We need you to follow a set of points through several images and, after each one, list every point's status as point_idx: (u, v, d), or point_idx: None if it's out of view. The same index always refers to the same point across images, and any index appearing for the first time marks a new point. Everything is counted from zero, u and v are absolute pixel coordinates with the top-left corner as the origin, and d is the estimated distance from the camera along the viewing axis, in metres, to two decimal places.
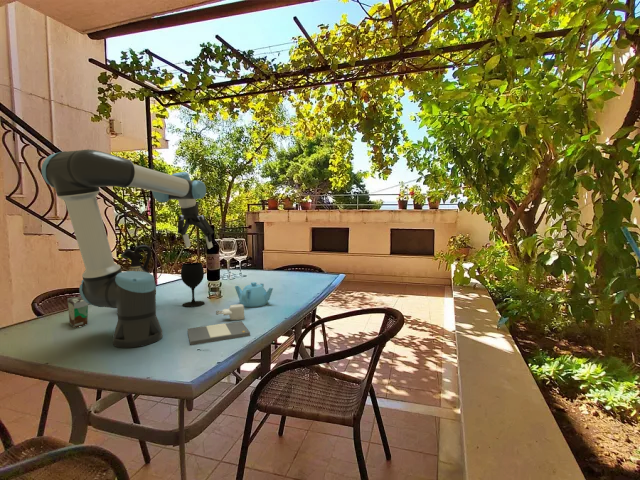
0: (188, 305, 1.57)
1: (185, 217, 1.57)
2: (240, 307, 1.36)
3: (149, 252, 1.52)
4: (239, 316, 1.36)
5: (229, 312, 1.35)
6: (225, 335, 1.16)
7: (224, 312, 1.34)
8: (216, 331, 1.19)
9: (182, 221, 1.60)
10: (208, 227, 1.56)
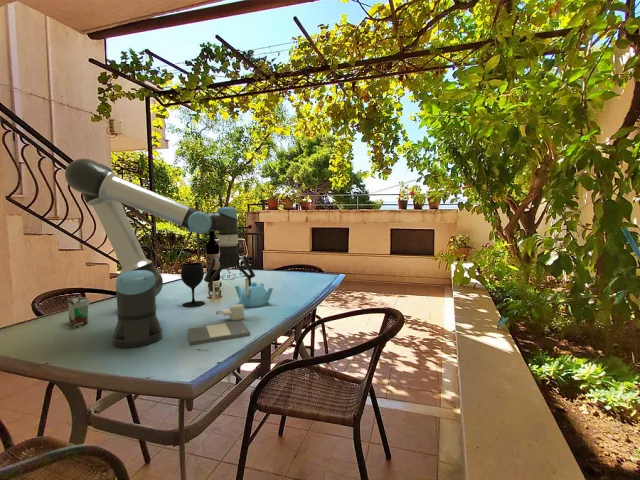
0: (188, 305, 1.57)
1: None
2: (240, 307, 1.36)
3: (149, 252, 1.52)
4: (239, 316, 1.36)
5: (229, 312, 1.35)
6: (225, 335, 1.16)
7: (224, 312, 1.34)
8: (216, 331, 1.19)
9: (244, 262, 1.38)
10: (207, 272, 1.32)
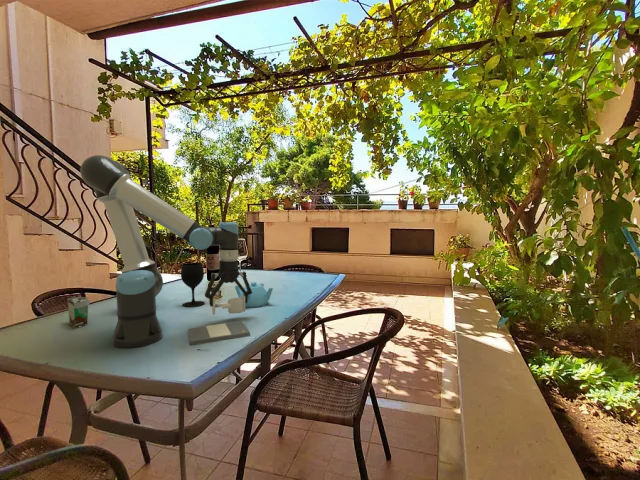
0: (188, 305, 1.57)
1: None
2: (239, 300, 1.36)
3: (149, 252, 1.52)
4: (238, 309, 1.36)
5: (228, 305, 1.34)
6: (225, 335, 1.16)
7: (223, 305, 1.34)
8: (216, 331, 1.19)
9: (243, 278, 1.39)
10: (207, 288, 1.33)
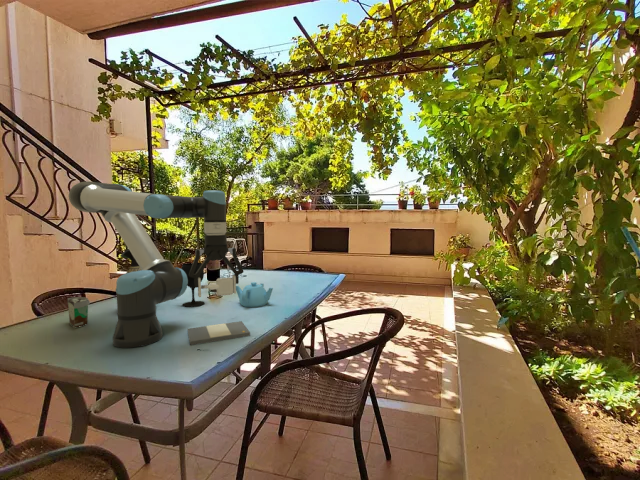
0: (188, 305, 1.57)
1: None
2: (228, 280, 1.19)
3: None
4: (228, 291, 1.19)
5: (216, 286, 1.17)
6: (225, 335, 1.16)
7: (210, 286, 1.17)
8: (216, 331, 1.19)
9: (232, 255, 1.21)
10: None
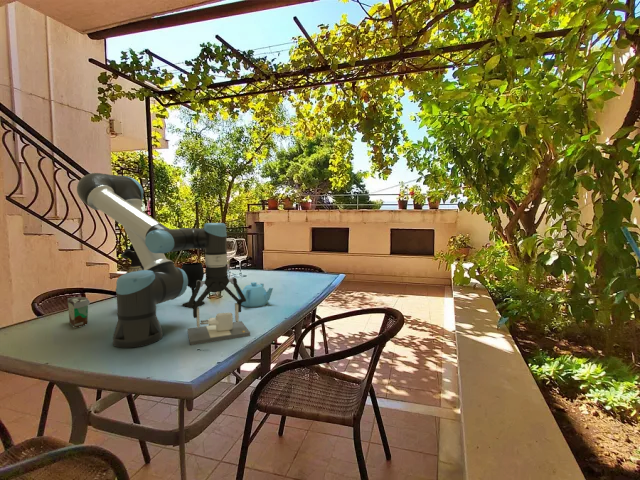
0: None
1: None
2: (228, 316, 1.19)
3: None
4: (227, 326, 1.19)
5: (215, 322, 1.18)
6: (225, 335, 1.16)
7: (209, 322, 1.17)
8: (216, 331, 1.19)
9: None
10: (191, 297, 1.16)
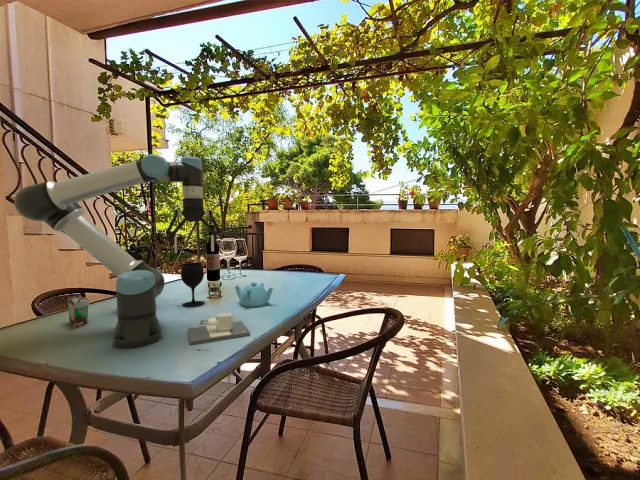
0: (188, 305, 1.57)
1: None
2: (228, 316, 1.19)
3: (149, 252, 1.52)
4: (227, 326, 1.19)
5: (215, 322, 1.18)
6: (225, 335, 1.16)
7: (209, 322, 1.17)
8: (216, 331, 1.19)
9: (209, 217, 1.32)
10: (169, 225, 1.26)
